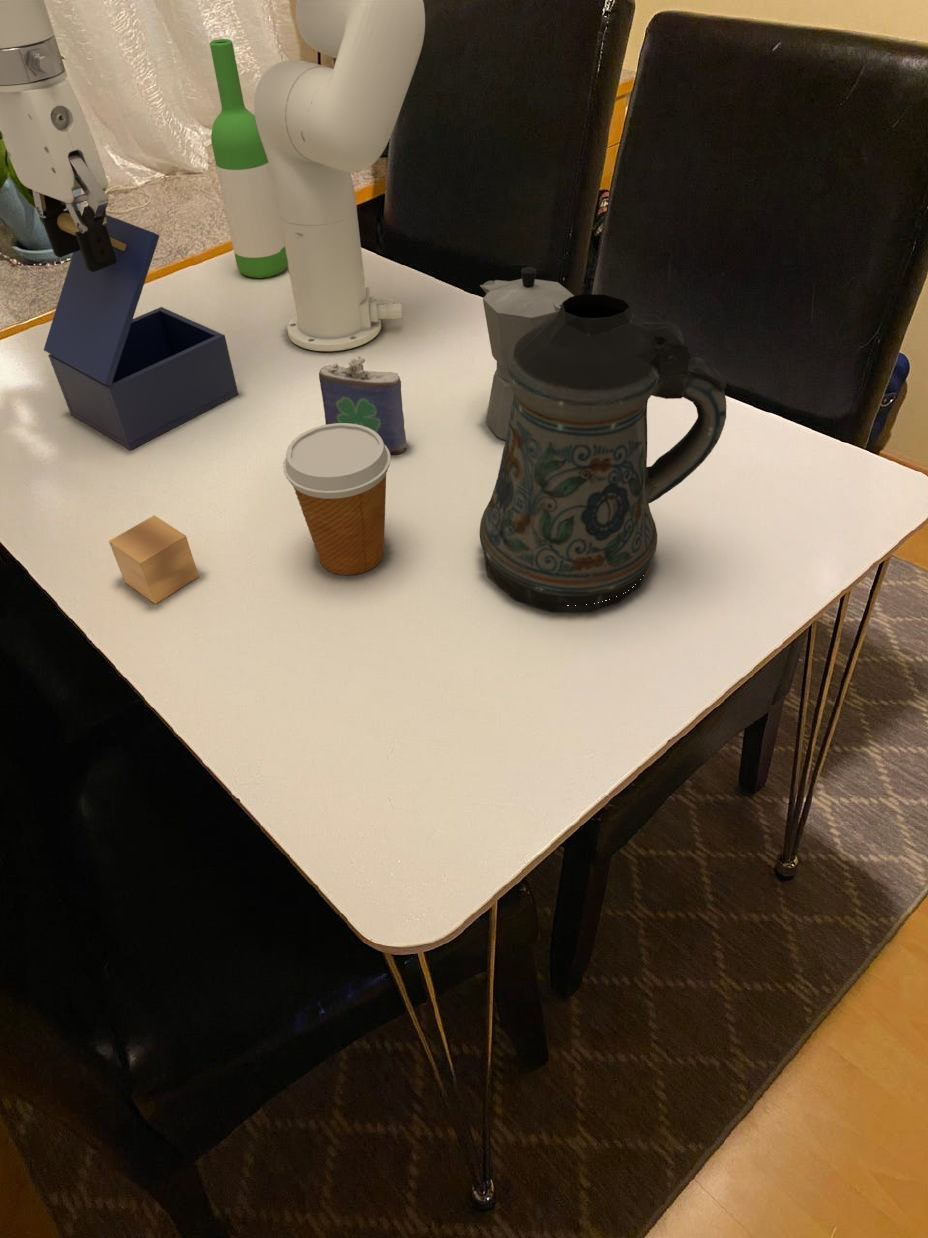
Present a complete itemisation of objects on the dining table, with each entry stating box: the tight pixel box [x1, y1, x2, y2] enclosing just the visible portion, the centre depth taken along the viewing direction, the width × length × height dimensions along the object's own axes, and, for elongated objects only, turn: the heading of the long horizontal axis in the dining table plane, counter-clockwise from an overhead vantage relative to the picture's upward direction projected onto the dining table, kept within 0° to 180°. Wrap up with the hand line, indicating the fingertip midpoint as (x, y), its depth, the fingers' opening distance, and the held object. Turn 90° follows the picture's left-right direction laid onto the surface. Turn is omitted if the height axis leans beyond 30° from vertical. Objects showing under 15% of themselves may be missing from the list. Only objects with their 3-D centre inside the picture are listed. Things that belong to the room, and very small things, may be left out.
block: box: [108, 514, 200, 605], centre depth 84 cm, size 5×5×5 cm
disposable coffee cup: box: [282, 423, 392, 576], centre depth 83 cm, size 10×10×12 cm
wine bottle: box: [209, 38, 288, 279], centre depth 127 cm, size 8×8×30 cm
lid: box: [43, 213, 160, 386], centre depth 96 cm, size 16×13×6 cm
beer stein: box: [479, 293, 728, 613], centre depth 77 cm, size 16×19×25 cm
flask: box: [318, 355, 407, 456], centre depth 97 cm, size 9×3×11 cm, turn 74°
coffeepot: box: [479, 266, 575, 441], centre depth 96 cm, size 15×9×18 cm, turn 46°
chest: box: [47, 306, 239, 451], centre depth 106 cm, size 16×13×8 cm
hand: (85, 257), depth 95 cm, fingers closed on lid, 5 cm apart
